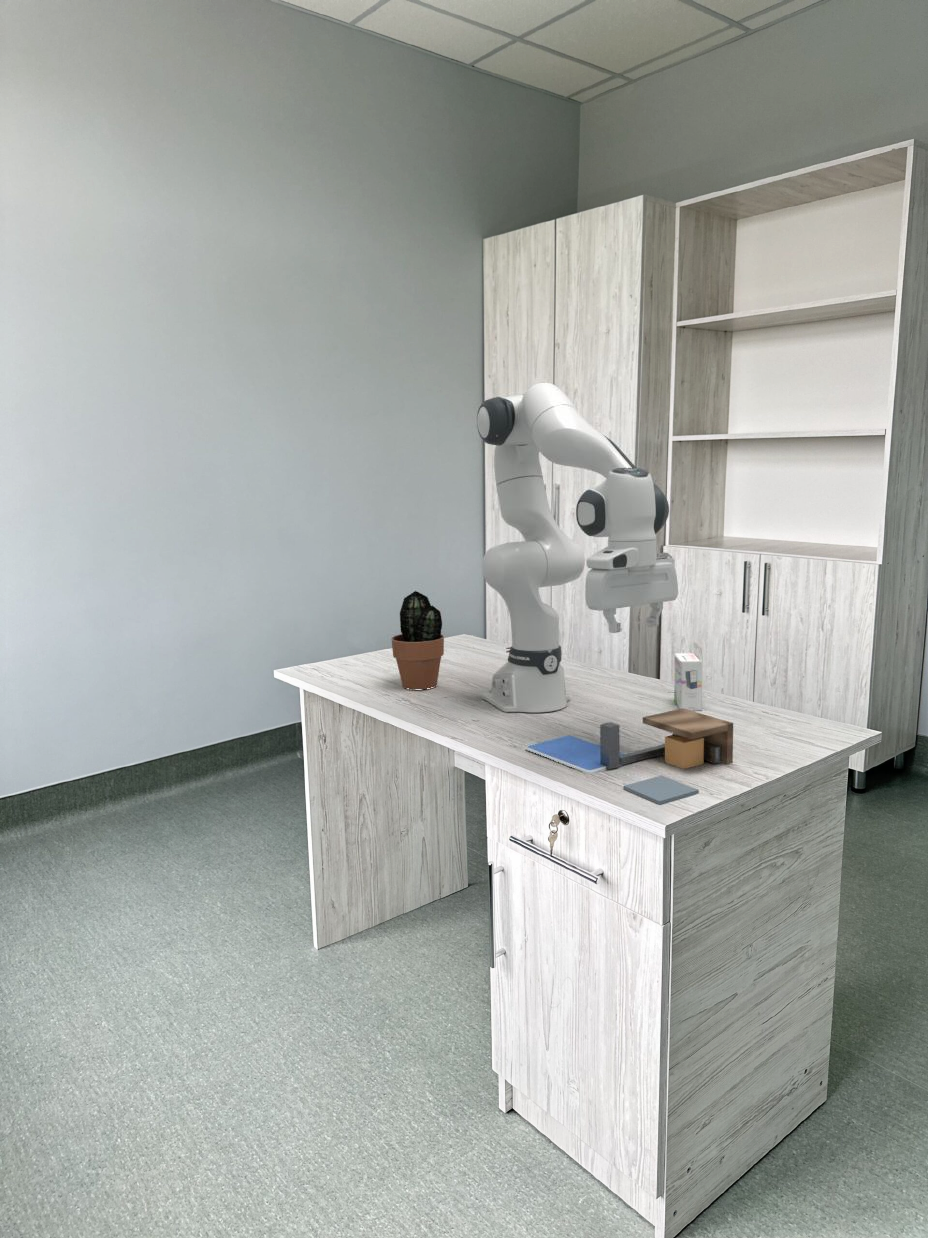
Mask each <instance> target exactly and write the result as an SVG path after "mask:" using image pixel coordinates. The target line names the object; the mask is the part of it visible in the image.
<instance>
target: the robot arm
mask: <svg viewBox="0 0 928 1238" xmlns="http://www.w3.org/2000/svg"><path fill="white" fill-rule="evenodd" d="M476 425H477V427H476V428H477V432H478V435H479V437H480V438H481V440H482V441H483V442H484V443H485V444H487V445H491V446H495V447H494V451H493V452H494V453H493V466H494V468H493V469H494V471H493V472H494V479H495V480H494V481H495V487H496V493H497V498H498V499H497V500H498V502H499V503H498V505H499V509H500V515H501V518H502V519H503V521H504V522H505V523H506V525H509V526H510V527H512V528H514V529H516V530H517V531H518V532H519V533H520V534H521V535H522V537H523V539H524V540H523V541H512V542H511V541H509V542H506V543H502V544H498V545H496V546H495V545H494V546H493V547H490V548H488V549H487V551H486V552H485V554H484V556H483V558H482V562H481V571H482V576H483V578H484V580H485V582H486V583H487V584H488V586H489V587H491V589H493V590H495V591H496V592H497V594H499V595H500V597H502V599H503V601H504V603H505V605H506V607H507V610H508V613H509V614H508V615H509V618H510V627H511V628H510V629H511V646H510V647H506V648H505V649H506V651H505V652H506V653H508V657H507V661H506V662H505V664H504V665H502V666H501V667H500V668H499V669H498V670H497V671H495V673H494V674H493V675H492V679H491V690H488V691H487V692H486V691H485V692H484V693H482V696H481V697H482V699H483V700H484V701H486V702H488V703H490V704H491V705H493V706H494V707H496V708H498V709H499V710H500V711H502V712H506V713H509V712H511V713H514V712H515V713H516V712H521V713H547V712H554V711H559V710H562V709H564V708H566V707H567V706H568V701H570V700H571V698H570V695H569V694H567V687H566V677H565V670H564V667H563V665H562V664H561V662H562V654H563V652H562V647H561V645H560V617H559V614H558V613H557V611H556V610H555V609H554V608H553V606H550V604H549V605H548V604H547V603H545V602H543V601H542V599H541V596H540V595H541V594H540V588H547V587H556V586H562V585H564V584H568V583H571V582H574V581H576V580H577V579H579V578H580V577H581V575H582V573H583V571H584V568H585V559H586V567H587V568H588V569H589V570H588V572H587V573H586V577H585V586H584V587H585V591H584V592H585V593H584V595H585V605H586V606H587V607H588V609H590V610H592V611H599V612H600V611H601V612H602V615H603V617H604V618H605V620H606V622H607V624H608V632H609V633H610V634H611V633H612V634H617V633H621V631H622V628H621V627H622V625H621V624H622V623H621V622H618V621H617V619H616V617H615V615H617V609H623V608H630V607H637V606H643V605H649V608H651V611H650V614H649V616H646V626H647V627H650V628H655V627H658V626H659V623H660V622H659V619H660V618H659V617H660V616H661V613H662V611H663V609H664V603H665V602H672V601H676V599H677V598H678V596H679V585H678V582H679V581H678V575H677V570H676V568H675V559H674V558H673V556H672V555H670V554H669V553H668V552H661V553H657V534H658V533H659V532H660V530H661V529H662V528H663V527H664V526H665V524H666V522H667V521H668V519H669V514H670V506H669V505H670V504H669V501H668V498H667V497H666V495H665V493H664V492H663V490H662V489H661V488H660V487H659V485H656V484H655V483H654V481H653V478H652V474H651V473H650V472H649V471H647V470H646V469H642V468H638V467H636V466H635V464H634V463H633V462H632V460H630V459H629V458H628V456H627V455H626V454H625V453H624V452H623V451H622V449H620V447H619V446H618V445H617V444H616V443H615V442H614V441H613V440H611V439H610V438H609V437H608V436H606V435H604V434H602V433H601V432H599V431H598V430H597V429H596V428H594V427H593V426H592V425H591V424H590V423H589V422H588V421H587V420H586V419H585V418H584V417H583V416H582V415H581V413H579V411H578V409H577V408H576V407H575V405H574V403H573V402H572V401H571V399H570V398H569V397H568V396H567V395H566V394H565V393H564V392H563V390H561V389H560V388H559V387H557V385H556V384H553V383H550V382H540V383H536V384H533V385H532V386H530V388H528V389H527V390H526V391H525V393H523V394H515V395H508V396H502V397H501V396H496V397H491V398H488V399H485V400H484V401H483V402H482V403H481V405H480V406H479V407H478V410H477V416H476ZM540 454H541V455H542V456H543V458H545V459H547V460H548V461H549V462H551V463H553V464H555V465H559V466H564V467H570V468H578V469H582V470H583V469H584V470H588V471H592V472H595V473H597V474H599V475H600V476H602V477H603V478H605V480H604V481H603V482H601V483H599V484H598V485H597V486H595V487H592V488H591V489H587V490H585V491H584V492H583V493H582V494H581V495H580V496H579V499H578V501H577V504H576V507H575V509H576V510H575V516H576V517H575V518H576V522H577V525H578V527H579V528H580V530H581V531H582V532H583V533H584V534H585V535H587V536H588V537H592V538H593V537H594V538H605V537H606V538H607V546H606V547H604V548H602V549H601V550H599V551H597V552H595V553H593V554H591V555H589V556H588V557H587V558H585V554H584V551H583V549H582V546H580V544H578V543H577V542H576V541H575V540H573V539H571V538H570V537H569V536H568V535H566V533H565V532H564V531H563V530H562V529H561V527H560V526H559V525H558V523H557V521H556V520H555V518H554V516H553V514H552V512H551V508H550V505H549V499H548V497H547V491H546V487H545V486H546V485H545V482H544V476H543V472H542V467H541V463H540Z"/></svg>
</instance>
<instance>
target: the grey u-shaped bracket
mask: <svg viewBox="0 0 928 1238" xmlns="http://www.w3.org/2000/svg"><path fill="white" fill-rule="evenodd" d="M599 731H600V732H599V733H600V734H599V737H600V740H599V741H600V742H599V743H600V744H599V745H600V764H601V765H604V766H606V768H608V770H611V769H615V768H619V767H620V765H621V766H623V764H624V765H628V764H630V763H634V761H635V762H637V761H641V760H645V759H650V758H653V757H658V756H662V755H665V743H663V744H658V745H655V746H650V747H648V748H643V749H639V750H636V751H632V752H631V751H630V752H627V753H624V754H623V755H620V752H621V751H620V747H621V746H620V742H621V740H620V724H617V723H614V722H611V721H609V722H605V723H600V725H599ZM671 735H674V733H672V734H671ZM704 760H705V761H708V762H710V763H713V764H718V763H722V762H721V746H718V745H715V744H712V743H709V742H706V741H704ZM627 763H628V764H627Z"/></svg>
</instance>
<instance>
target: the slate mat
mask: <svg viewBox="0 0 928 1238" xmlns="http://www.w3.org/2000/svg"><path fill="white" fill-rule="evenodd" d="M622 787H623V788H622V789H623V790H625V791H627V792H629V793H631V794H634V795H636V796H638V797H641V798H643V799H646V800H648V801H650V802H652V803H655V804H658V805H660V806H661V805H663V804H666V803H670V802H673V801H677V800H680V799H683V798H687V797H690V796H695V795H697V794H699V793H700V790H699V789H698V788H696V787H693V786H690V785H688V784H685V783H682V782H679V781H678V780H675V779H672V778H670V777H667V776H665V775H657V776H655V777H651V778H648V779H644V780H639V781H636V782H632V783H629V784H626V785H623V786H622Z"/></svg>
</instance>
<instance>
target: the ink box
mask: <svg viewBox="0 0 928 1238" xmlns="http://www.w3.org/2000/svg"><path fill="white" fill-rule="evenodd" d="M673 685H674V686H673V687H674V688H673V690H674V691H673V692H674V695H673V696H674V697H673V698H674V699H673V701H674V703H675V704H676V706H677V707H678V708H679V709H682V708H684V709H687V710H690V711H694V712H697V711H702V710H703V647H702V645H700V644H699V643H698V642H696V641H695V640H693V652H692V653H691V652H690V653H689V652H684V653H683V652H678V653H677V652H676V653H675V652H674V684H673Z"/></svg>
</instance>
